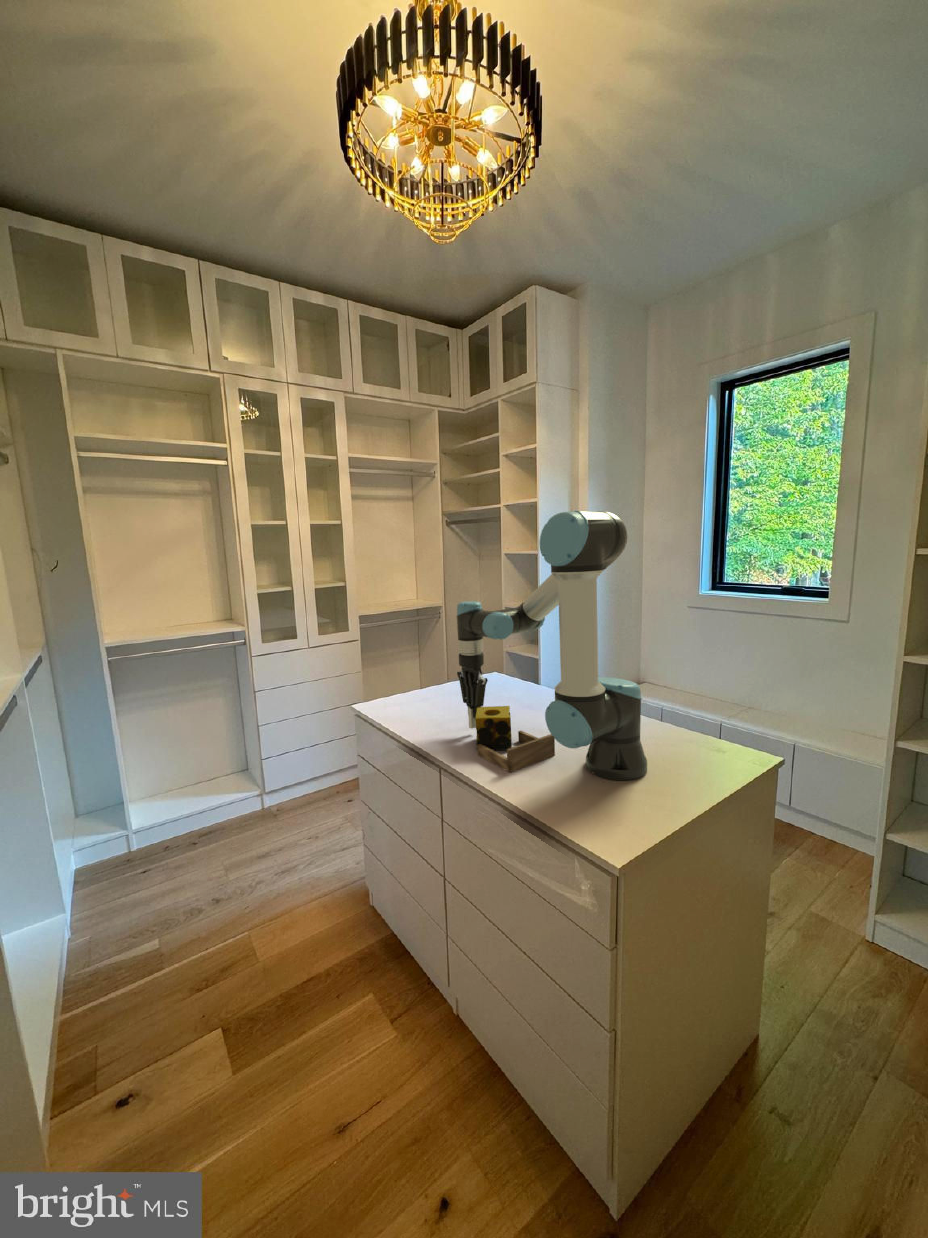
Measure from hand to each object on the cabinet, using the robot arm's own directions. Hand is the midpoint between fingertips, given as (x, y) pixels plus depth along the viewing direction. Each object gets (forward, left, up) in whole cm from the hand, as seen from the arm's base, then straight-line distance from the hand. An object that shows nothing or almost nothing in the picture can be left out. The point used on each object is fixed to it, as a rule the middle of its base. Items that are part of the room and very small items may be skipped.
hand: (473, 726), depth 153 cm
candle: (-10, 0, -3) cm, 10 cm away
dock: (-20, 0, -2) cm, 20 cm away
